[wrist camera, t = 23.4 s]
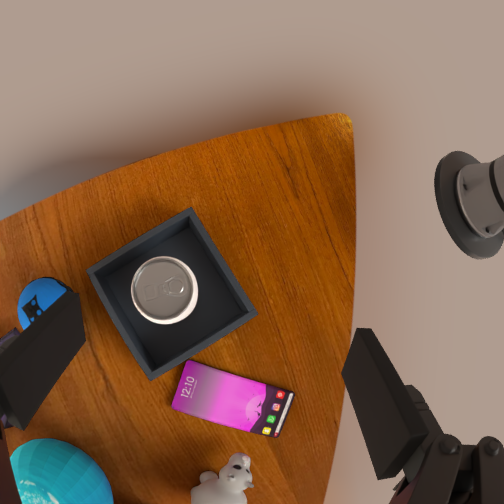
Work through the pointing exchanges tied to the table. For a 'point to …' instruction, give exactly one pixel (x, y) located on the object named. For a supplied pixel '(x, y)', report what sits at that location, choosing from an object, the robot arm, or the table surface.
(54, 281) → the ornament
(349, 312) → the table surface
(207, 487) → the chubby cartoon animal
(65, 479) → the decorative orb
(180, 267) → the can
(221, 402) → the smartphone
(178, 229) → the tray
